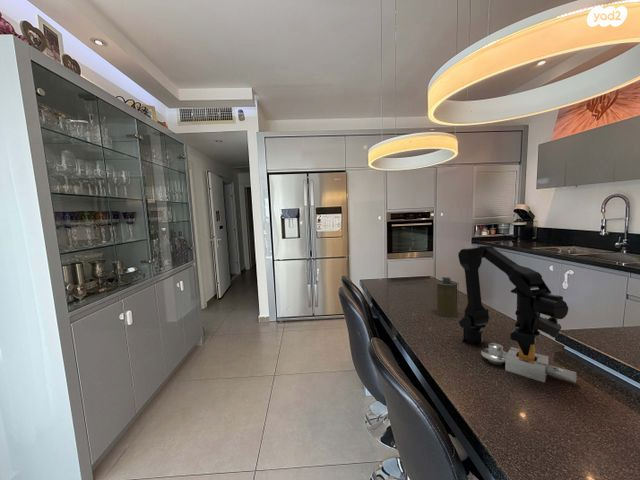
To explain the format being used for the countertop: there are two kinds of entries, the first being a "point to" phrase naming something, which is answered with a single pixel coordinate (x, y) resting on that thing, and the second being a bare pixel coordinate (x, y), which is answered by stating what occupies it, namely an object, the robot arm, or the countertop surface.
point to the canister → (447, 297)
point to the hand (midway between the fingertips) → (526, 353)
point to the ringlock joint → (525, 364)
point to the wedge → (530, 356)
